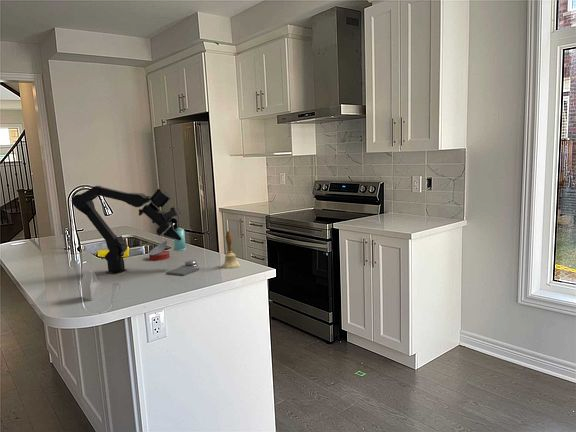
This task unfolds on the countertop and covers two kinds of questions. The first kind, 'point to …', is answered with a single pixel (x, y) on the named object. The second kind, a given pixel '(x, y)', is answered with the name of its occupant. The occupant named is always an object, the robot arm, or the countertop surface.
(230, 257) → the hand bell
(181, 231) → the teal cylinder
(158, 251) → the canned food
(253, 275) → the countertop surface
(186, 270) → the mat
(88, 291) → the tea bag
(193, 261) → the metal domed disc
